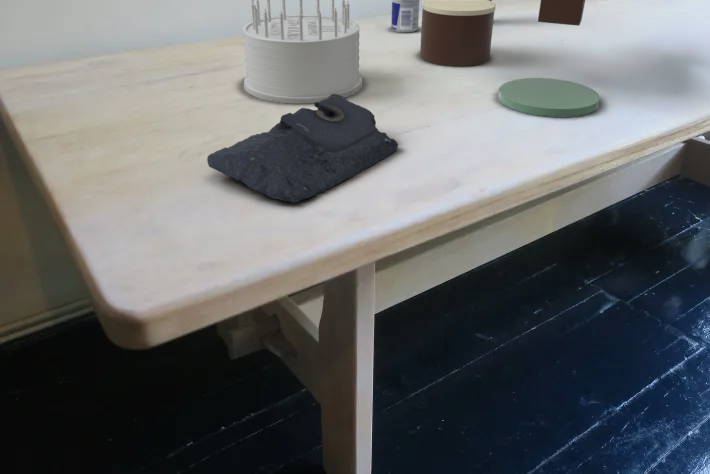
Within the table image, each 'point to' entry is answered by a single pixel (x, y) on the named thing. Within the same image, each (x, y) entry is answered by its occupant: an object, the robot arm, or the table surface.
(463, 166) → the table surface
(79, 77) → the table surface
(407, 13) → the energy drink
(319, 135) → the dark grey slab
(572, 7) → the cake slice
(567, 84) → the plate
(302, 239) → the table surface
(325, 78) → the cake
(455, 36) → the cake
